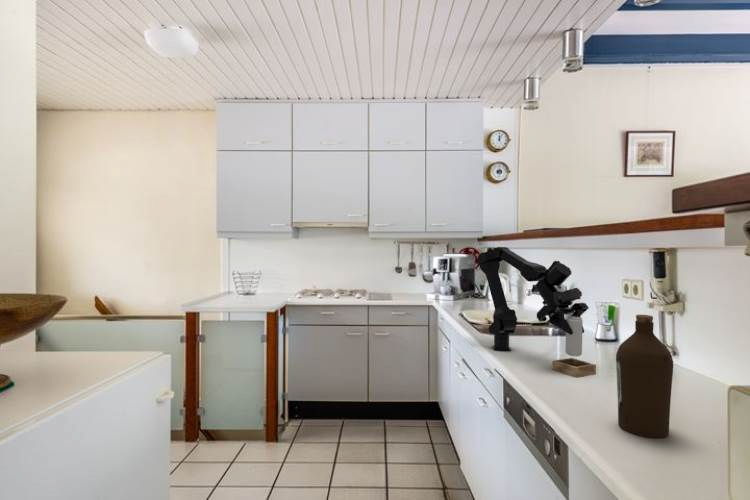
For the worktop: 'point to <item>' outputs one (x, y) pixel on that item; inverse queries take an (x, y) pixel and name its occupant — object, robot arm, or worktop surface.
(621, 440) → the worktop surface
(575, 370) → the walnut socket
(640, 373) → the olive oil
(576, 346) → the beverage can
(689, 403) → the worktop surface
